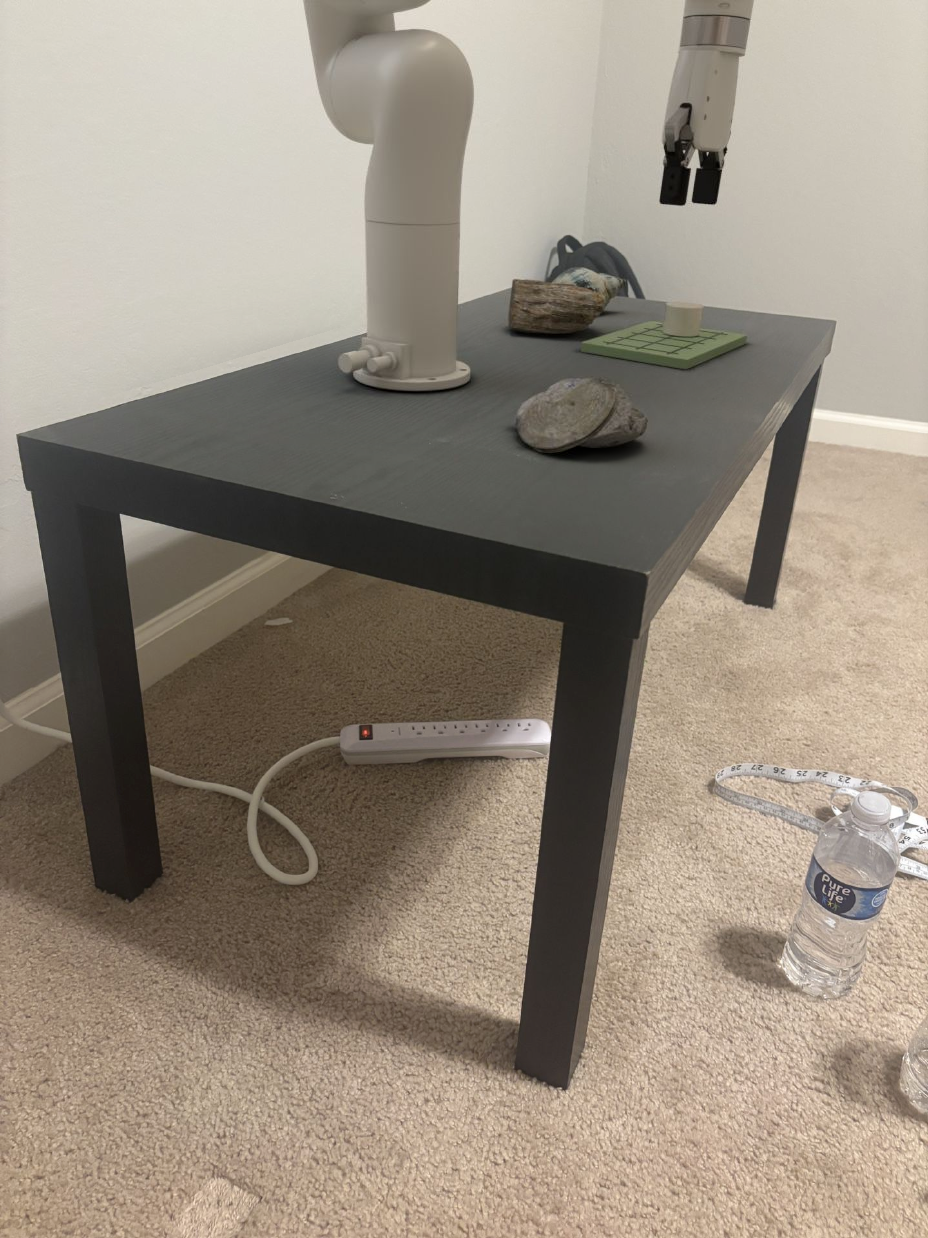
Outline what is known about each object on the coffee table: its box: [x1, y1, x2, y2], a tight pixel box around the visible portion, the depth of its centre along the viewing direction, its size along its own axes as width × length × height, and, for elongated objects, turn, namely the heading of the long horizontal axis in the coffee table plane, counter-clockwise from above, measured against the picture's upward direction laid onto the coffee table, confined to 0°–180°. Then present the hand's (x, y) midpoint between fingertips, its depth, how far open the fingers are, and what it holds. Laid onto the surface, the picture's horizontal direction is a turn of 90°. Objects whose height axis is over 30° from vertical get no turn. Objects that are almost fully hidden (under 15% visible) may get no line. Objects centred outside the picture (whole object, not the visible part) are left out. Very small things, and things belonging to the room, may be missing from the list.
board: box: [580, 320, 748, 370], centre depth 116 cm, size 20×14×1 cm
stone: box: [507, 278, 606, 335], centre depth 122 cm, size 14×10×10 cm
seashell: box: [551, 266, 627, 308], centre depth 136 cm, size 6×8×12 cm
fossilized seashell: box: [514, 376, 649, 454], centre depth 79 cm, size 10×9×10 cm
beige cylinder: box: [662, 301, 705, 337], centre depth 118 cm, size 5×5×4 cm
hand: (688, 204), depth 111 cm, fingers open, 9 cm apart
